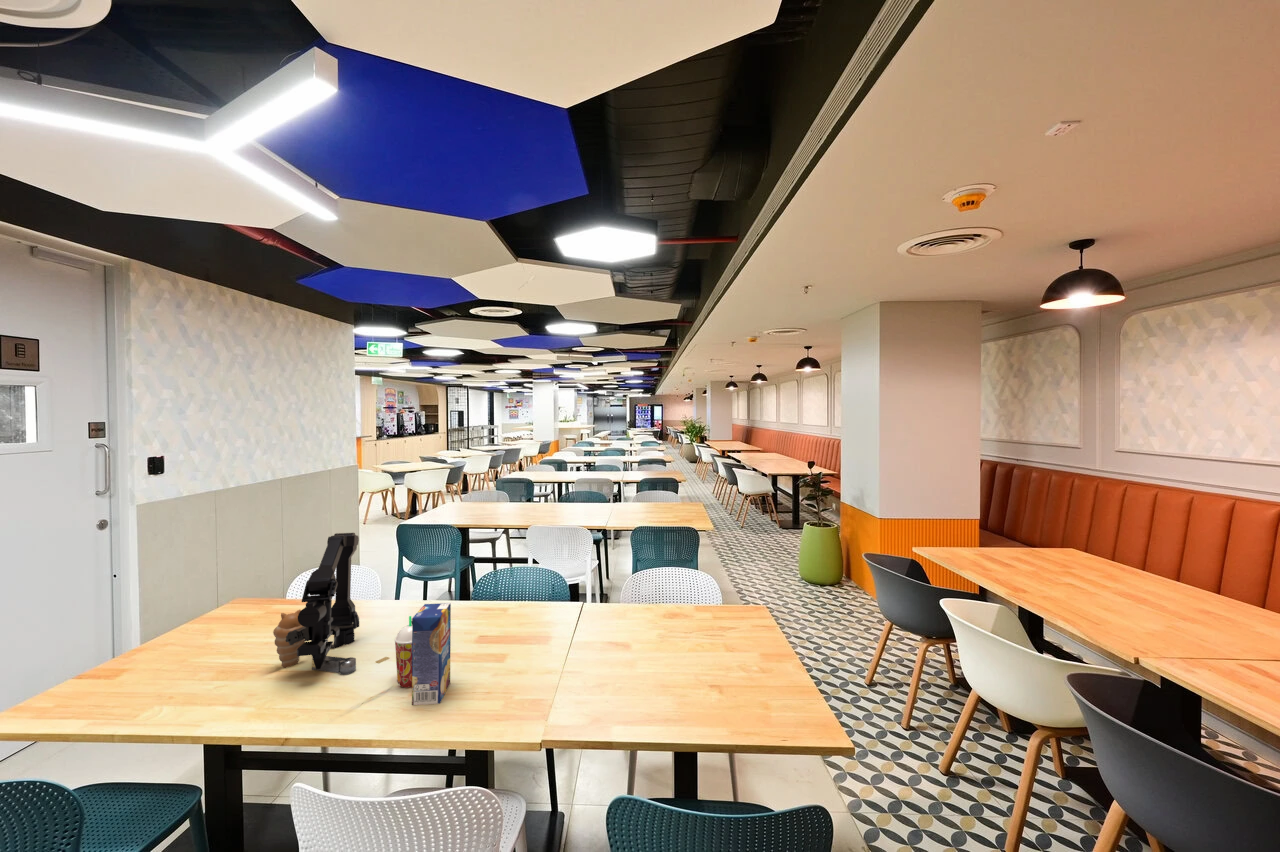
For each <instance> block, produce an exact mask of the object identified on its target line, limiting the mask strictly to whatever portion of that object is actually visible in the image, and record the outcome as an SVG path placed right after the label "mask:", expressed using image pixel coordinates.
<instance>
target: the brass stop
mask: <svg viewBox="0 0 1280 852" xmlns="http://www.w3.org/2000/svg"><path fill="white" fill-rule="evenodd" d="M390 658H391V657H389V656H385V657H383V658H379V659H378V660H376V661H375V662H374V663H375V664H381V663H383V662H386V661H388V660H389V659H390Z"/></svg>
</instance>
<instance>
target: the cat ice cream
mask: <svg viewBox="0 0 1280 852" xmlns="http://www.w3.org/2000/svg"><path fill="white" fill-rule="evenodd" d="M301 610H302V609H298V610H296V611H294V612H291V613H288V614H287V613H284V612H281V613H280V617H281V618H280V621H279V622H278V625H277V626H276V627H275V628H274V629H273V631H272V633H273V636H274V645H275V646H276V653H277V654H278V660H279V661H280V662H281V666H282V667H283V668H285V669H287V668H290V667H293V666H296V665H298V663H299V660H300V656H297V649H298V648H299V647H300V646H301V645H302V644H303V643H304V642H306V641H305V639H303V640H301V641H299V642H296V643H294V644H293V645H289V643H288V642H286V635H288V633H289V632H290V631H293V630H297V629H299V628H302V627H304V626H302V625H300V623H299V622H298V615H299V613H300V611H301Z"/></svg>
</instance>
